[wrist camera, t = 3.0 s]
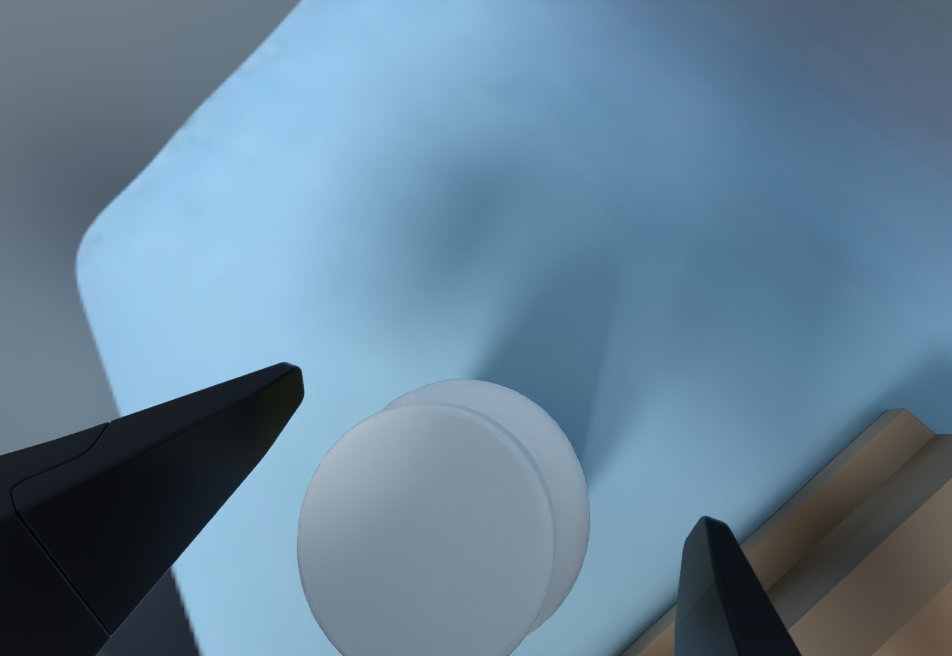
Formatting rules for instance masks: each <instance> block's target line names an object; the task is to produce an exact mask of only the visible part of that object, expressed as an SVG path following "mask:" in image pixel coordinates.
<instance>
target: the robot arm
mask: <svg viewBox="0 0 952 656" xmlns="http://www.w3.org/2000/svg"><path fill="white" fill-rule="evenodd" d="M303 398H304V384H303V376H302V370H301V369H300V367H298V366H296V365H293V364H290V363H287V362H282V363H278V364H275V365H273V366H270V367H267V368H264V369H261V370H258V371H255V372H252V373H249V374H246V375H243V376H241V377H238V378H235V379H232V380H229V381H226V382H223V383H220V384H217V385H214V386H211V387H208V388H206V389H203V390H200V391H197V392H194V393H191V394H188V395H185V396H182V397H179V398H176V399H174V400H171V401H168V402H165V403H162V404H159V405H156V406H153V407H150V408H147V409H144V410H141V411H139V412H136V413H133V414H130V415H127V416H124V417H121V418H118V419H115V420H113V421H111V422H110V423H109V422H106V423H103V424H100V425H98V426H95V427H92V428H89V429H86V430H83V431H80V432H77V433H74V434H71V435H67V436H64V437H61V438H58V439H56V440H52V441H48V442H45V443H42V444H39V445H35V446H32V447H29V448H25V449H21V450H18V451H14V452H11V453H7V454H4V455H0V656H96V655H97V654H98V653H99V651H100V650H101V649H102V648H103V647H104V646H105V644H106V643H107V642H108V641H109V640H110V638H111V635H113V634H114V633H115V632H116V631H117V630H118V629H119V627H120V626H121V625H122V624H123V623H124V622H125V620H126V619H127V618H128V617H129V616H130V614H131V613H132V612H133V611H134V610H135V609H136V607H137V606H138V605H139V604H140V603H141V601H142V600H143V599H144V598H145V597H146V596H147V594H148V593H149V592H150V591H151V590H152V588H153V587H154V586H155V585H156V584H157V582H158V581H159V580H160V579H161V578H162V576H163V575H164V574H165V573H166V572H167V571H168V570H169V568H170V567H171V566H172V565H173V564H174V562H175V561H176V560H177V559H178V558H179V557H180V555H181V554H182V553H183V552H184V551H185V549H186V548H187V547H188V546H189V545H190V544H191V542H192V541H193V540H194V539H195V538H196V536H197V535H198V534H199V533H200V532H201V531H202V529H203V528H204V527H205V526H206V525H207V523H208V522H209V521H210V520H211V519H212V518H213V516H214V515H215V514H216V513H217V512H218V510H219V509H220V508H221V507H222V506H223V505H224V503H225V502H226V501H227V500H228V499H229V497H230V496H231V495H232V494H233V493H234V492H235V490H236V489H237V488H238V487H239V486H240V484H241V483H242V482H243V481H244V480H245V479H246V477H247V476H248V475H249V474H250V473H251V471H252V470H253V469H254V468H255V467H256V466H257V464H258V463H259V462H260V461H261V459H262V458H263V457H264V456H265V455H266V453H267V452H268V450H269V449H270V448H271V446H272V445H273V443H274V442H275V440H276V439H277V438H278V436H279V435H280V433H281V432H282V430H283V429H284V427H285V426H286V424H287V423H288V422H289V420H290V419H291V417H292V416H293V414H294V413H295V411H296V410H297V408H298V407H299V406H300V404H301V402H302V400H303ZM674 656H802V655H801V653H800V651H799V649H798V648H797V646H796V644H795V642H794V640H793V639H792V637H791V635H790V633H789V632H788V630H787V628H786V626H785V625H784V623H783V621H782V619H781V618H780V616H779V614H778V612H777V611H776V609H775V607H774V605H773V603H772V602H771V600H770V598H769V596H768V595H767V593H766V591H765V589H764V588H763V586H762V584H761V582H760V581H759V579H758V577H757V575H756V574H755V572H754V570H753V568H752V566H751V565H750V563H749V561H748V559H747V558H746V556H745V554H744V552H743V551H742V549H741V547H740V545H739V544H738V542H737V540H736V538H735V537H734V535H733V533H732V531H731V529H730V528H729V526H728V525H727V524H726V523H724V522H722V521H720V520H717V519H714V518H711V517H709V516H703V517H701V518H700V519H699V521H698V522H697V524H696V525H695V526H694V528H693V529H692V531H691V532H690V534H689V535H688V537H687V538H686V540H685V543H684V547H683V554H682V563H681V572H680V581H679V590H678V599H677V608H676V617H675V628H674Z"/></svg>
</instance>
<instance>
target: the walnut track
mask: <svg viewBox="0 0 952 656" xmlns="http://www.w3.org/2000/svg"><path fill="white" fill-rule="evenodd" d="M740 547H741V549H742V551H743V552H744V554H745V556H746V558H747V559H748V561H749V563H750V565H751V566H752V568H753V570H754V572H755V574H756V575H757V577H758V579H759V581H760V582H761V584H762V586H763V588H764V589H765V591H766V593H767V595H768V596H769V598H770V600H771V602H772V603H773V605H774V607H775V609H776V611H777V612H778V614H779V616H780V618H781V619H782V621H783V623H784V625H785V626H786V628H787V630H788V632H789V633H790V635H791V637H792V639H793V640H794V642H795V644H796V646H797V648H798V649H799V651H800V653H801V655H802V656H952V434H935V433H933V432H932V431H931V430H930V429H929V428H928V427H926V426H925V425H924V424H923V423H922V422H920V421H919V420H918V419H917V418H916V417H915V416H913V415H912V414H911V413H910V412H909V411H908V410H906V409H894V410H886V411H885V412H884V413H883V414H882V415H881V416H880V417H879V418H878V419H877V420H875V421H874V422H873V423H872V424H871V425H870V426H869V427H868V428H867V429H866V430H865V431H864V432H862V433H861V434H860V435H859V436H858V437H857V438H856V439H855V440H854V441H853V442H852V443H850V444H849V445H848V446H847V447H846V448H845V449H844V450H843V451H842V452H841V453H840V454H838V455H837V456H836V457H835V458H834V459H833V460H832V461H831V462H830V463H829V464H828V465H827V466H825V467H824V468H823V469H822V470H821V471H820V472H819V473H818V474H817V475H816V476H815V477H813V478H812V479H811V480H810V481H809V482H808V483H807V484H806V485H805V486H804V487H803V488H801V489H800V490H799V491H798V492H797V493H796V494H795V495H794V496H793V497H792V498H791V499H789V500H788V501H787V502H786V503H785V504H784V505H783V506H782V507H781V508H780V509H779V510H778V511H776V512H775V513H774V514H773V515H772V516H771V517H770V518H769V519H768V520H767V521H766V522H764V523H763V524H762V525H761V526H760V527H759V528H758V529H757V530H756V531H755V532H754V533H752V534H751V535H750V536H749V537H748V538H747V539H746V540H745V541H744V542H743V543H742V544H741V545H740ZM676 608H677V603H676V604H675V605H674V606H673V607H672V608H671V609H670V610H669V611H668V612H666V613H665V614H664V615H663V616H662V617H661V618H660V619H659V620H658V621H657V622H656V623H655V624H653V625H652V626H651V627H650V628H649V629H648V630H647V631H646V632H645V633H644V634H643V635H641V636H640V637H639V638H638V639H637V640H636V641H635V642H634V643H633V644H632V645H631V646H629V647H628V648H627V649H626V650H625V651H624V652H623V653H622V654H621V655H620V656H674V628H675V617H676Z"/></svg>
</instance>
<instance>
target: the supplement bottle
mask: <svg viewBox="0 0 952 656" xmlns="http://www.w3.org/2000/svg"><path fill="white" fill-rule="evenodd" d="M589 531H590V504H589V496H588V489H587V485H586V481H585V477H584V474H583V471H582V468H581V465H580V462H579V460H578V457H577V455H576V453H575V451H574V449H573V447H572V445H571V443H570V441H569V440H568V438H567V436H566V435H565V433H564V432H563V430H562V429H561V428H560V426H559V425H558V424H557V423H556V421H555V420H554V419H553V418H552V417H551V416H550V415H549V414H548V413H547V412H546V411H545V410H544V409H543V408H542V407H540V406H539V405H538V404H536V403H535V402H533V401H532V400H530V399H529V398H527V397H525V396H524V395H522V394H520V393H518V392H516V391H514V390H512V389H510V388H507V387H504V386H502V385H498V384H495V383H491V382H487V381H481V380H472V379H454V380H445V381H439V382H435V383H432V384H428V385H425V386H422V387H420V388H417V389H415V390H413V391H411V392H409V393H407V394H405V395H403V396H401V397H399V398H398V399H396V400H394V401H393V402H391V403H390V404H389V405H388V406H386V407H385V408H384V409H383V410H382V411H381V412H379V413H376V414H374V415H372V416H370V417H368V418H367V419H365V420H363V421H362V422H360V423H359V424H357V425H356V426H354V427H353V428H352V429H351V430H349V431H348V432H347V433H346V434H344V435H343V436H342V437H341V438H340V440H338V441H337V442H336V443H335V444H334V446H333V447H332V448H331V449H330V450H329V451H328V452H327V454H326V455H325V457H324V459H323V460H322V462H321V463H320V464H319V466H318V468H317V470H316V472H315V474H314V476H313V478H312V480H311V482H310V484H309V486H308V488H307V491H306V494H305V498H304V501H303V504H302V508H301V513H300V518H299V525H298V536H297V559H298V566H299V572H300V578H301V583H302V587H303V591H304V594H305V596H306V599H307V602H308V604H309V607H310V609H311V611H312V613H313V616H314V618H315V620H316V621H317V623H318V625H319V626H320V628H321V629H322V631H323V632H324V634H325V635H326V637H327V638H328V640H329V641H330V642H331V643H332V644H333V645H334V646H335V648H336V649H337V650H338V651H339V652H340V653H341V654H342V655H343V656H509V655H510V654H511V653H512V652H513V651H514V650H515V649H516V648H517V647H518V645H519V644H520V643H521V642H522V640H523V639H524V638H525V636H526V635H528V634H530V633H531V632H533V631H534V630H535V629H537V628H538V627H539V626H541V625H542V624H543V623H544V622H545V621H547V620H548V619H549V618H550V617H551V616H552V615H553V614H554V612H555V611H556V610H557V609H558V608H559V606H560V605H561V604H562V603H563V601H564V600H565V598H566V597H567V595H568V594H569V592H570V591H571V589H572V587H573V585H574V583H575V581H576V579H577V577H578V575H579V572H580V570H581V567H582V564H583V561H584V558H585V554H586V551H587V545H588V540H589Z"/></svg>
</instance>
